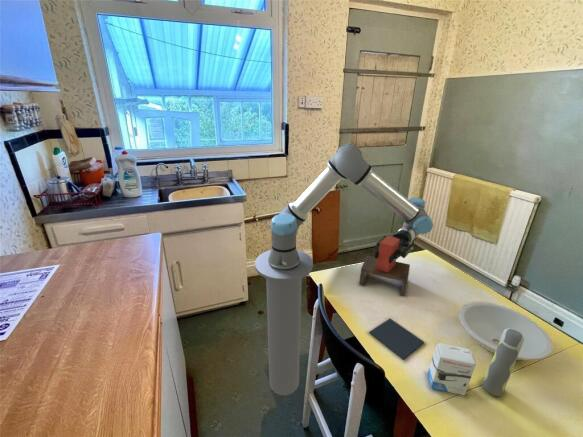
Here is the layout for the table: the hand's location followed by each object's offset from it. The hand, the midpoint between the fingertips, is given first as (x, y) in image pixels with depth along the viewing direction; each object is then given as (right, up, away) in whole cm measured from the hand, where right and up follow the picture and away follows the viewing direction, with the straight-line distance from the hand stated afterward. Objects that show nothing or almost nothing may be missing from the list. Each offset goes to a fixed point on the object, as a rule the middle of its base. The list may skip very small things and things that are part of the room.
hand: (382, 257), depth 112 cm
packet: (+3, -5, +6) cm, 8 cm away
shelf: (+3, -12, +9) cm, 16 cm away
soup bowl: (+30, -25, -20) cm, 44 cm away
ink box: (+6, -30, -34) cm, 46 cm away
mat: (-2, -24, -19) cm, 30 cm away
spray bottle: (+18, -31, -35) cm, 50 cm away
